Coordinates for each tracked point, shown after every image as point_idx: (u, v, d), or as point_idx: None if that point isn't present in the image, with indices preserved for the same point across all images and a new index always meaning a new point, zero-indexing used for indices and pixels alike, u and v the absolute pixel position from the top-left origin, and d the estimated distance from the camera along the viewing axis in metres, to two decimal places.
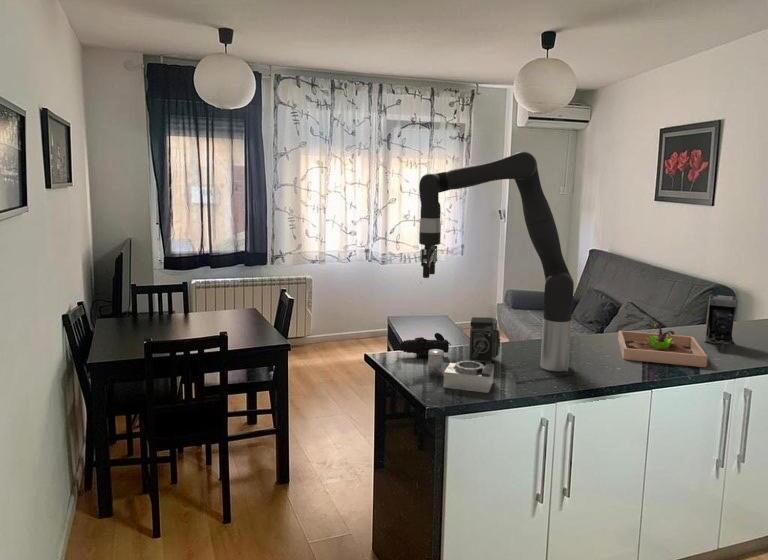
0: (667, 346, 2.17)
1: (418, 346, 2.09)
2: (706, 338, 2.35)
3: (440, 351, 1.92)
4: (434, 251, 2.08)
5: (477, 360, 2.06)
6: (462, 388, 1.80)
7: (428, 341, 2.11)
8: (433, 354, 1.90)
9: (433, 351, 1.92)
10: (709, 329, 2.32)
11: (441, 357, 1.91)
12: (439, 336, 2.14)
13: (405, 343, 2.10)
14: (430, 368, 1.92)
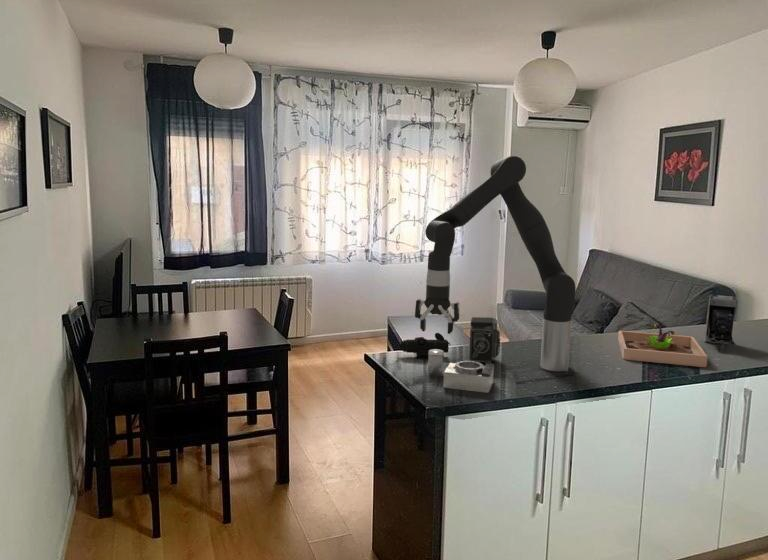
0: (667, 346, 2.17)
1: (418, 346, 2.09)
2: (706, 338, 2.35)
3: (440, 351, 1.92)
4: None
5: (477, 360, 2.06)
6: (462, 388, 1.80)
7: (428, 341, 2.11)
8: (433, 354, 1.90)
9: (433, 351, 1.92)
10: (709, 329, 2.32)
11: (441, 357, 1.91)
12: (439, 336, 2.15)
13: (405, 343, 2.10)
14: (430, 368, 1.92)
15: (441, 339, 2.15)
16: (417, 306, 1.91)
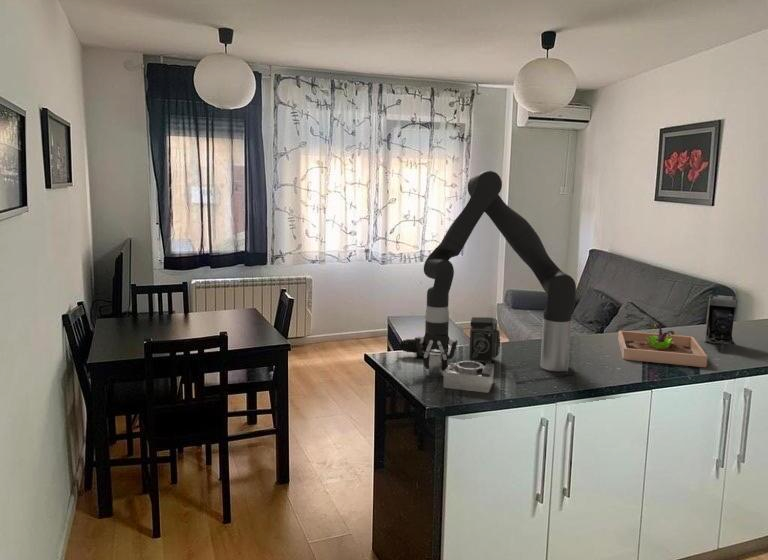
0: (667, 346, 2.17)
1: None
2: (706, 338, 2.35)
3: None
4: None
5: (477, 360, 2.06)
6: (462, 388, 1.80)
7: None
8: (433, 354, 1.90)
9: (433, 351, 1.92)
10: (709, 329, 2.32)
11: (441, 357, 1.91)
12: None
13: (405, 342, 2.11)
14: (430, 368, 1.92)
15: None
16: (418, 344, 1.92)
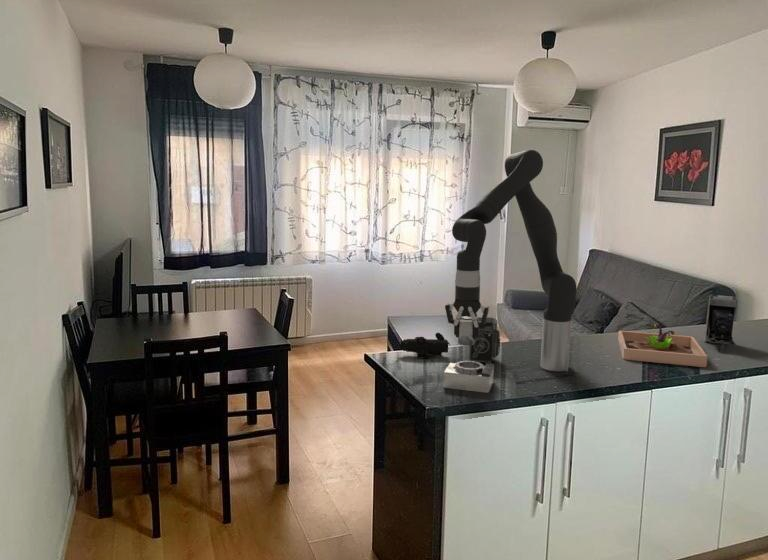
0: (667, 346, 2.17)
1: (417, 345, 2.10)
2: (706, 338, 2.35)
3: (471, 318, 1.82)
4: None
5: (477, 360, 2.06)
6: (462, 388, 1.80)
7: (427, 340, 2.12)
8: (464, 321, 1.80)
9: (463, 318, 1.82)
10: (709, 329, 2.32)
11: (472, 324, 1.81)
12: (439, 336, 2.15)
13: (404, 342, 2.11)
14: (460, 336, 1.82)
15: (441, 339, 2.15)
16: (447, 311, 1.83)
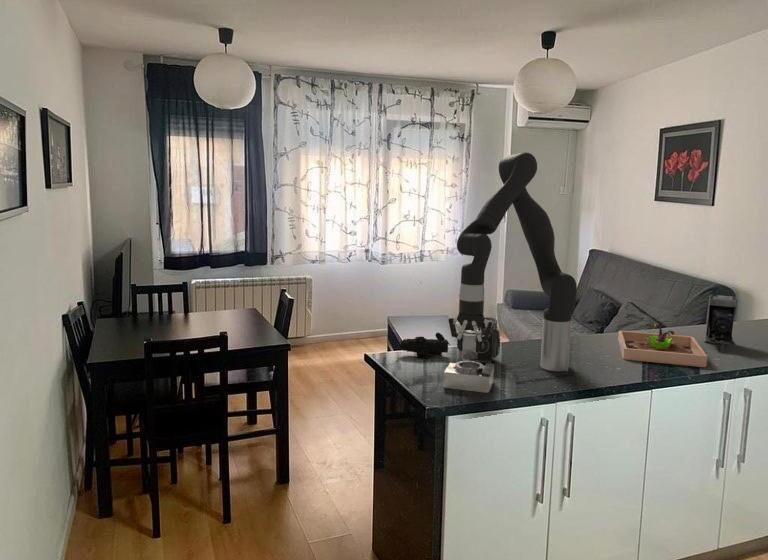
0: (667, 346, 2.17)
1: (417, 345, 2.10)
2: (706, 338, 2.35)
3: (474, 332, 1.81)
4: None
5: (477, 360, 2.06)
6: (462, 388, 1.80)
7: (427, 340, 2.12)
8: (467, 335, 1.79)
9: (467, 332, 1.81)
10: (709, 329, 2.32)
11: (476, 338, 1.80)
12: (439, 336, 2.15)
13: (404, 342, 2.12)
14: (464, 350, 1.81)
15: (441, 339, 2.15)
16: (451, 325, 1.82)
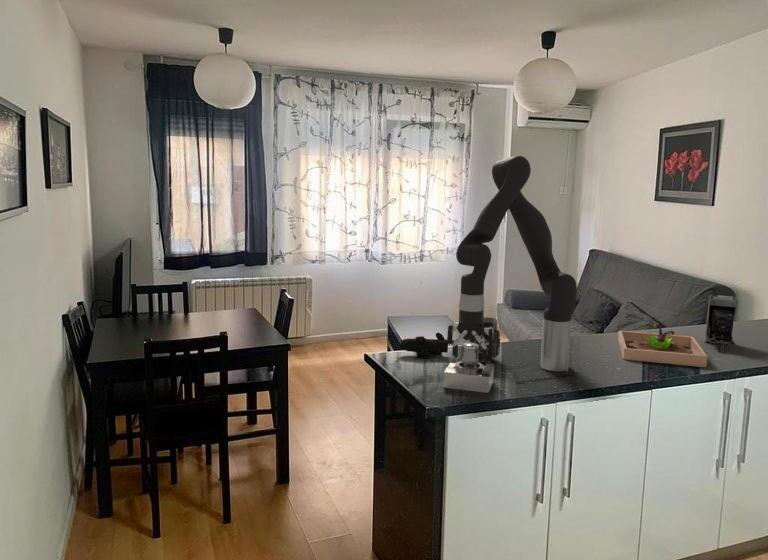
0: (667, 346, 2.17)
1: (417, 345, 2.11)
2: (706, 338, 2.35)
3: (474, 345, 1.82)
4: None
5: None
6: (462, 388, 1.80)
7: (427, 340, 2.12)
8: (467, 348, 1.80)
9: (467, 345, 1.82)
10: (709, 329, 2.32)
11: (476, 351, 1.80)
12: (440, 336, 2.15)
13: (404, 341, 2.12)
14: (464, 363, 1.81)
15: (442, 339, 2.15)
16: (449, 332, 1.82)
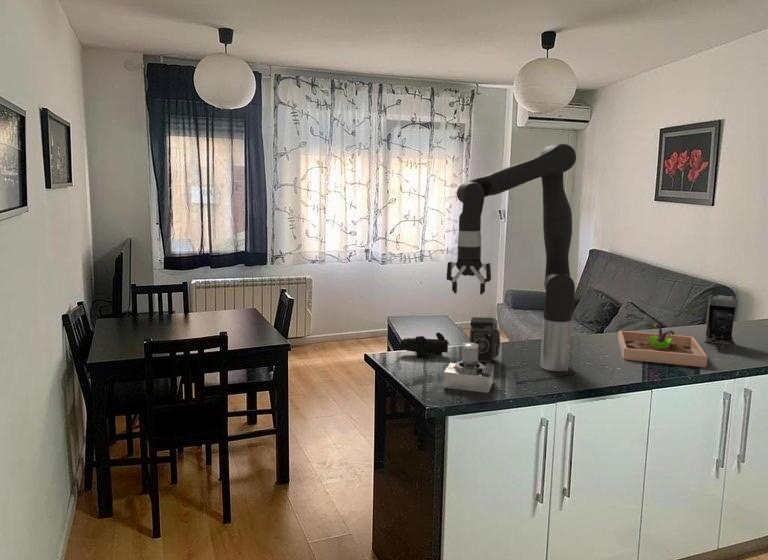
0: (667, 346, 2.17)
1: (416, 345, 2.11)
2: (706, 338, 2.35)
3: (474, 344, 1.82)
4: None
5: None
6: (462, 388, 1.80)
7: (427, 340, 2.12)
8: (467, 348, 1.80)
9: (467, 345, 1.82)
10: (709, 329, 2.32)
11: (476, 351, 1.80)
12: (440, 336, 2.15)
13: (404, 341, 2.12)
14: (464, 362, 1.81)
15: (442, 339, 2.15)
16: (449, 268, 1.92)
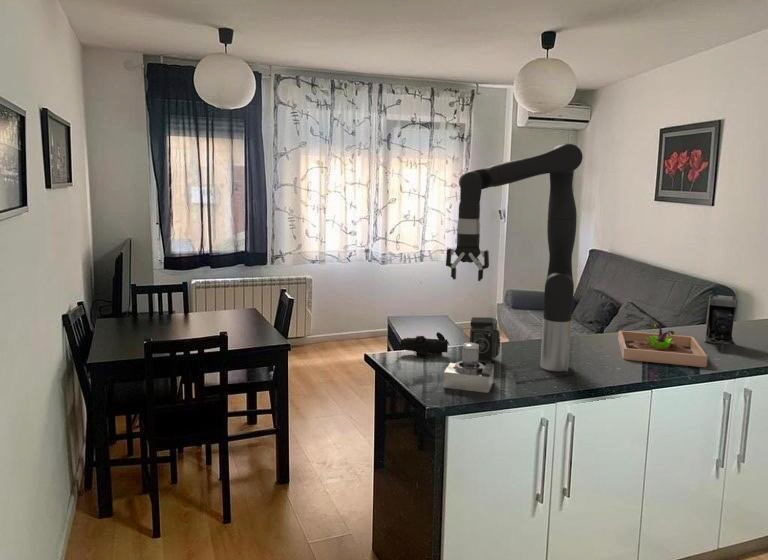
0: (667, 346, 2.17)
1: (416, 344, 2.11)
2: (706, 338, 2.35)
3: (475, 345, 1.82)
4: None
5: None
6: (462, 388, 1.80)
7: (427, 340, 2.12)
8: (468, 348, 1.80)
9: (467, 345, 1.82)
10: (709, 329, 2.32)
11: (476, 351, 1.80)
12: (440, 336, 2.15)
13: (404, 341, 2.13)
14: (464, 362, 1.81)
15: (442, 339, 2.15)
16: (448, 255, 1.98)
